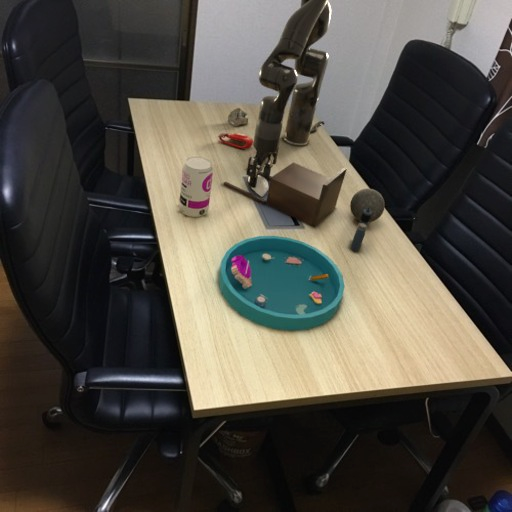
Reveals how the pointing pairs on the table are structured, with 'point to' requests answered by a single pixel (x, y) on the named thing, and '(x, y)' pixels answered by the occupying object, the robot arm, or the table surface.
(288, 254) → the round teal tray
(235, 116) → the grey brown rock
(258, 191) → the pincushion
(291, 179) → the box with long handles
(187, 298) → the table surface
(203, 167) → the supplement can
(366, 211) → the vaping device
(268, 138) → the robot arm
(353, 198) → the decorative ball
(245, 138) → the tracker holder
